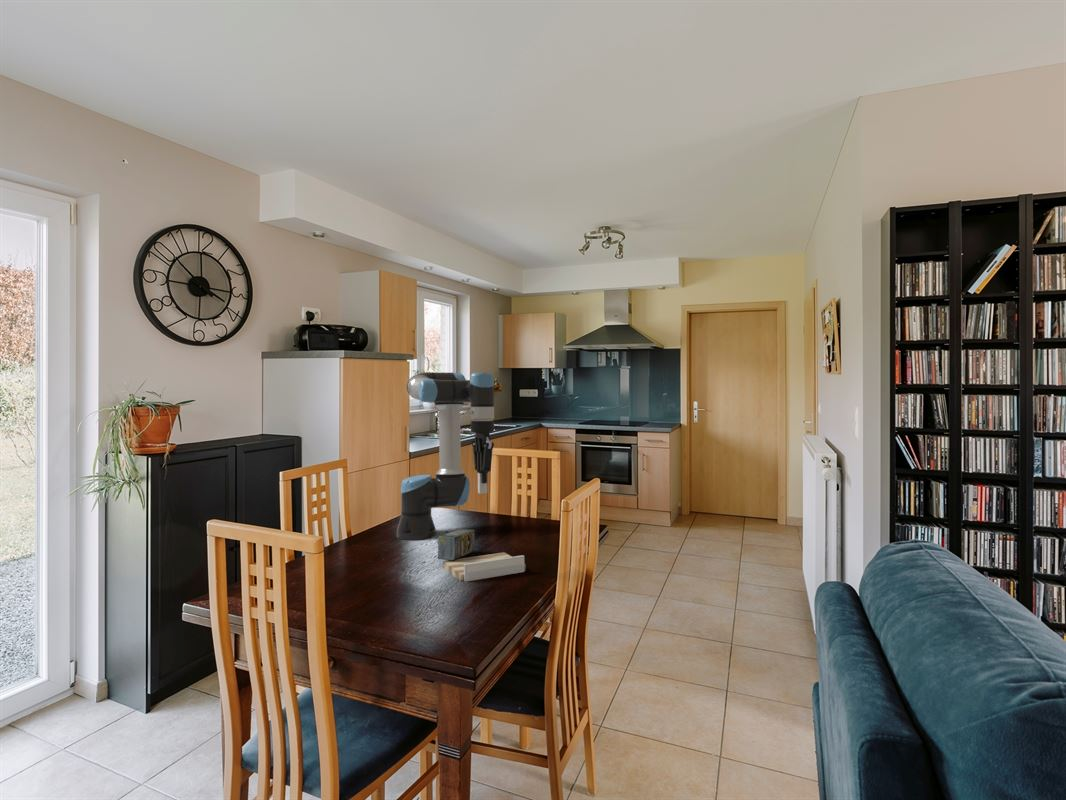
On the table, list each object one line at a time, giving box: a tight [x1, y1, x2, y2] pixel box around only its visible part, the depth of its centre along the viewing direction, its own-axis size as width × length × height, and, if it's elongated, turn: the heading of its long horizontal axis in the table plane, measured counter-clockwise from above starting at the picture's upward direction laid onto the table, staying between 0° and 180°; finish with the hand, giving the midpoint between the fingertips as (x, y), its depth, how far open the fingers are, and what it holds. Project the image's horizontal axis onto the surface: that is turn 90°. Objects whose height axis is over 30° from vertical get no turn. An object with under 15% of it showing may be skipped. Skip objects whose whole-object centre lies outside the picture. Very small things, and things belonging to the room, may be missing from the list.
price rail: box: [464, 555, 525, 583], centre depth 170 cm, size 1×20×5 cm, turn 119°
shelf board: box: [442, 552, 527, 582], centre depth 177 cm, size 16×22×2 cm
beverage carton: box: [437, 528, 476, 561], centre depth 188 cm, size 8×19×7 cm
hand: (482, 492), depth 178 cm, fingers closed
